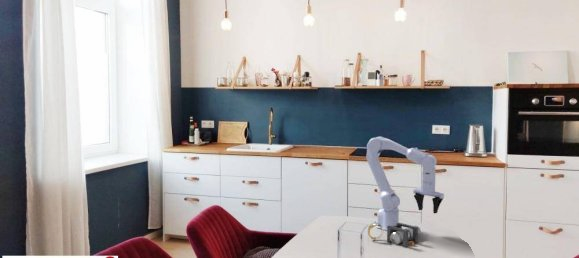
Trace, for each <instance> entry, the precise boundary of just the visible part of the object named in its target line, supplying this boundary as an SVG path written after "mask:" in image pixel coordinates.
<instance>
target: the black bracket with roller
mask: <svg viewBox="0 0 579 258" xmlns="http://www.w3.org/2000/svg"><path fill="white" fill-rule="evenodd" d="M415 226H416V225H411V224H407V223H402V222H398V223H397V225H395V226H390V225H389V226H387V230H386V231H387V232H386V242H387V243H392V242H391V240H390V235H391V233H394V232H397V231H401V232H403V242H402V247H403V248H408V246H411V247H414V246H415V245H417V244H418V238H419V237H418V227H419V226H418V227H415ZM406 228H411V229H413V239H412V240H408V230H405V229H406Z"/></svg>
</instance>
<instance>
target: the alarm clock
mask: <svg viewBox="0 0 579 258" xmlns="http://www.w3.org/2000/svg"><path fill="white" fill-rule="evenodd" d="M377 226H379V227H380V228H381V234H380V235H379V236H378V237H376V236H375V237H373V236H371V234H370V232H371V230H372V229H373V228H374V227H377ZM380 228H379V229H380ZM367 234H368V235H367V236H369V238H370V239H372V240H374V241H377V240H380V239H381V238H382V237H383V235H384V229H383V227H382V226H381V225H380V224H379V222H378V223H377V221H373V222H371V223H370V224H369V226H368V228H367Z"/></svg>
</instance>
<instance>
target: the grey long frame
mask: <svg viewBox="0 0 579 258" xmlns="http://www.w3.org/2000/svg"><path fill="white" fill-rule="evenodd" d="M414 226H415V227H418V238H419V237H420V236H421V235H422V230H421V229H420V227H419V226H417V225H414ZM404 229H405V230H408V241H412V240H413V229H411V228H407V227H405V228H404ZM390 240H391V243H392V244H393V245H399V244H403V232H401V231H397V232H394V233H391V235H390Z"/></svg>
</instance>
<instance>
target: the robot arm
mask: <svg viewBox="0 0 579 258" xmlns="http://www.w3.org/2000/svg"><path fill="white" fill-rule="evenodd" d="M384 150H392V151H395V152H397V153H399V154H402V155H404V156H405V157H406V159H407V160H408V161H411V162H413V163H416V164H418V165H421V166H422V175H421V176H422V177H421V180H422V181H421V189H419V188H414V189H412V190H413V192H412V193H413V194H414V195H413V197H414V199H415V202H416V203H417V207H418V211H422V210H423V208H424V197H425V196H428V197H432V199H431V200H432V205H433V207H432V208H433V211H432V213H433V214H438V211H439V208H440V205H441V203H442V201H443V200H444V198H445V194H444V193H442V192H437V191H436V165H437V163H438V160H437V158H436V157H435V156H434V155H433V154H428V152H423V151H421V150H419V148H418V147H411V148H408V147H406V146H403V144H400V143H398V142H395V141H393V140H391V139H389V138H387V137H384V136H381V135H380V136H376V137H372V138H370V139H369V141H368V142H367V144H366V157H365V159H366V160H367V163H368V165H369V168H370V170H371V172H372V176H373V177H374V180H375V182H376V184H377V187H378V189H379V191H380V199H381V207H382V208H380V209H379V210H378V211H377V212H378V213H377V221H376V223H378V222H379V224H380V225H381V226H382V227H383V229H384V230H385V231H387V226H389V225H390V226H395V225H397V223H399V220H400V219H399V215H400V213H399V212H400V211H399V210H400V209H399V206H400V203H401V201H400V200H401V199H400V197H399V196H398V195H397V194H396V192H395V191H394V189H392V187H391V185H390V183H389V181H388V178H387V176H386V174H385V170H384V169H383V167H382V163H381V161H380V160H379V157H380V154H381V153H382V151H384ZM375 227H376V229H379V230H380V229H381V228H380V227H379V226H375Z"/></svg>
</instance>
